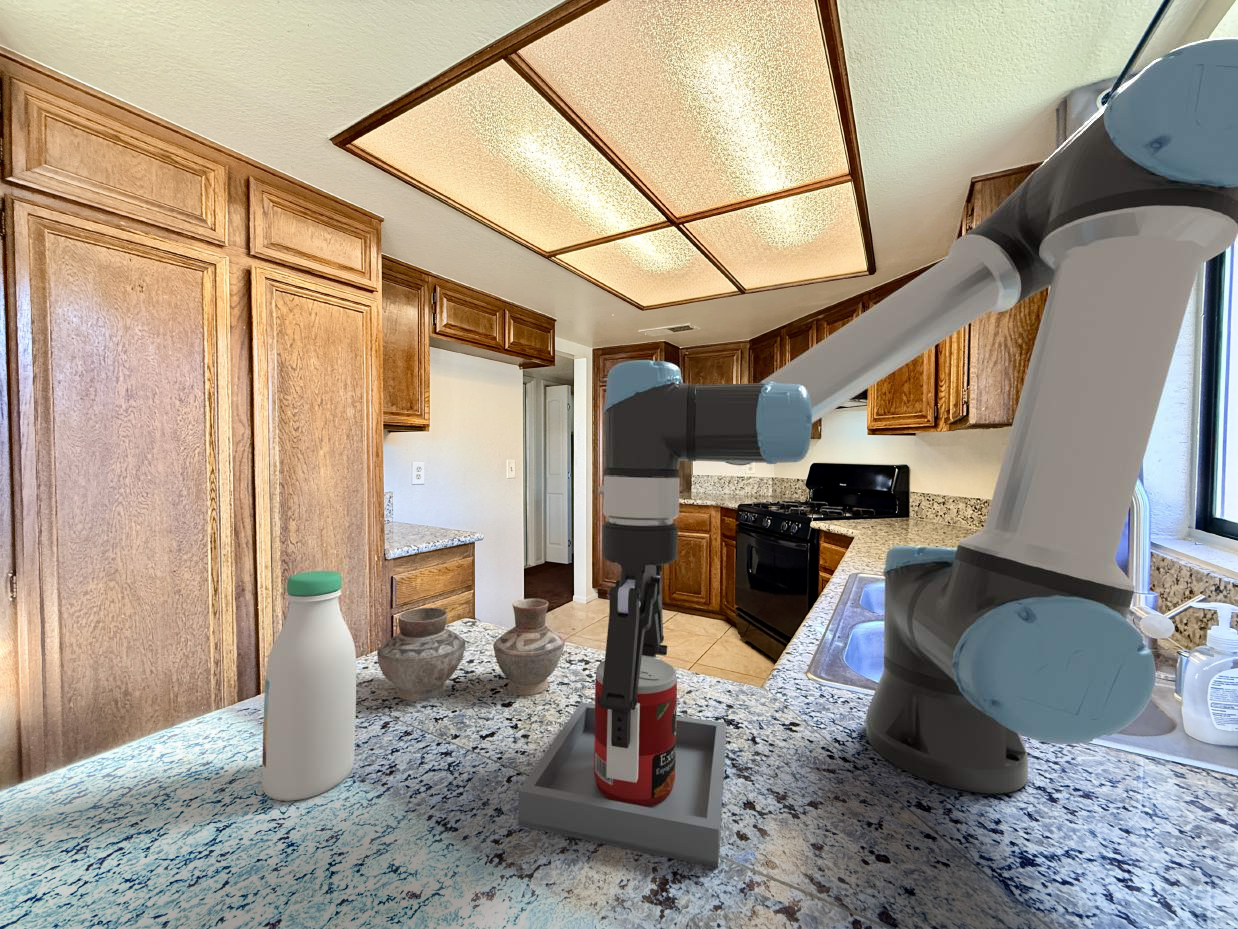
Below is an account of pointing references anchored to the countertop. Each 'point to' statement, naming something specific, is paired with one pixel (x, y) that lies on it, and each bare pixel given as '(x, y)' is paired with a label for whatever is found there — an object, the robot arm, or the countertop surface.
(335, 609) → the milk bottle
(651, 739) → the canned food
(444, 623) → the pottery
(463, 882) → the countertop surface
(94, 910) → the countertop surface
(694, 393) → the robot arm
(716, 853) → the tray
